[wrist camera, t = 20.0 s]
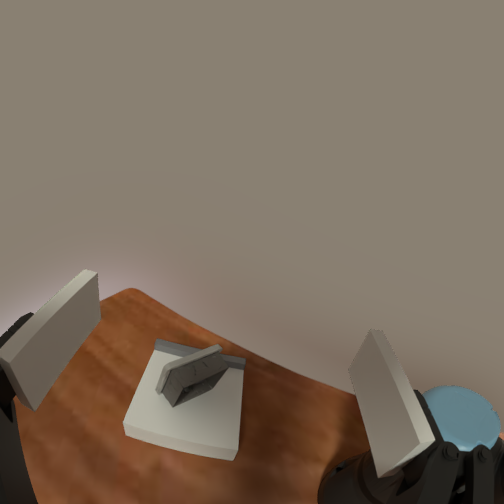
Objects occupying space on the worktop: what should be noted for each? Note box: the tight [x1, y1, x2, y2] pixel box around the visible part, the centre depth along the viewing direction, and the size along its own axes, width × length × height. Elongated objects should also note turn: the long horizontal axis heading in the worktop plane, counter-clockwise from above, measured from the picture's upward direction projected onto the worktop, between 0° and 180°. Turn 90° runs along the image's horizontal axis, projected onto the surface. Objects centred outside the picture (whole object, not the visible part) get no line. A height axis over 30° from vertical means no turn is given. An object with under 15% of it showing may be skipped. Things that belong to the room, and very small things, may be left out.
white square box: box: [123, 338, 246, 461], centre depth 39 cm, size 16×18×6 cm
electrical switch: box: [155, 344, 229, 408], centre depth 36 cm, size 9×5×9 cm, turn 135°
